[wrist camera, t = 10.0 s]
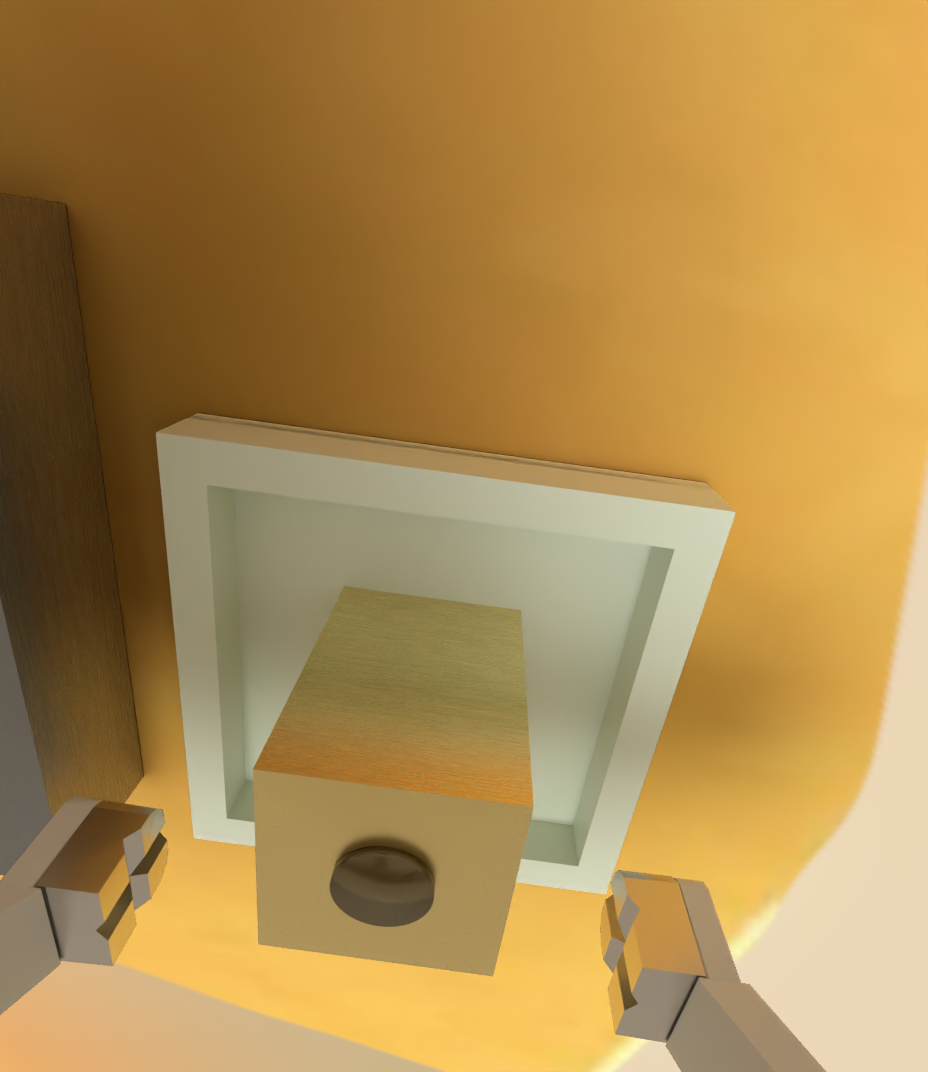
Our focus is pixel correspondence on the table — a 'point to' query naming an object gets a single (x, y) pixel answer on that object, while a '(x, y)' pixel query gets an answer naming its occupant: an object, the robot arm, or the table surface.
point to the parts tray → (441, 573)
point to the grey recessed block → (53, 548)
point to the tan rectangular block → (398, 786)
